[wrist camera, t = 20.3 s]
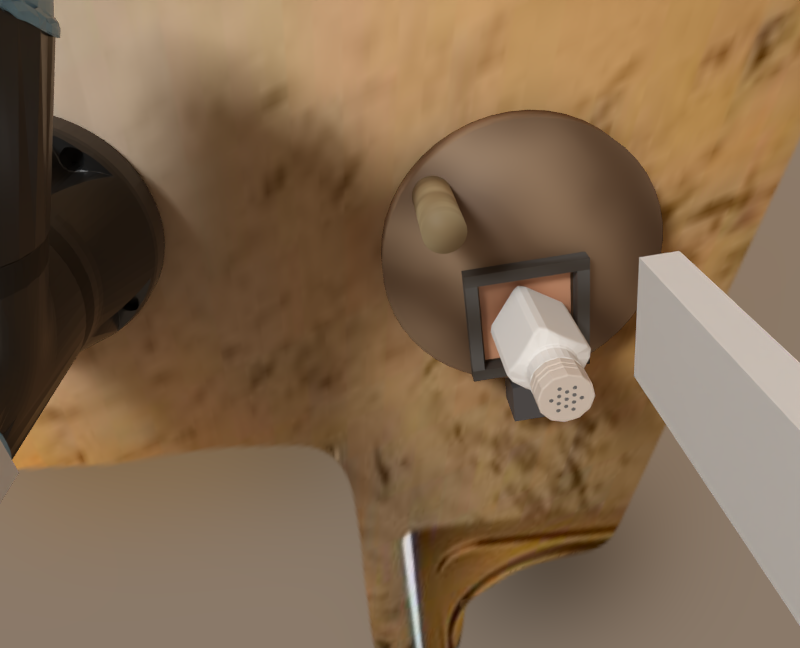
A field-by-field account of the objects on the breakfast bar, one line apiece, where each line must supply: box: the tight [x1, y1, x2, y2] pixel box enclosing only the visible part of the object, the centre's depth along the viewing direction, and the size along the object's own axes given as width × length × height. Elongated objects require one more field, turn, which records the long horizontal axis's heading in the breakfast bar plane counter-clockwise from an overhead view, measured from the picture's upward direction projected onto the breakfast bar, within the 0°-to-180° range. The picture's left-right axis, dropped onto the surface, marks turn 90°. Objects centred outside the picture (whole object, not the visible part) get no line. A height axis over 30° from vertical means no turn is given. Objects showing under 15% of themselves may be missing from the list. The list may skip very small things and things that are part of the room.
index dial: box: [381, 110, 663, 381], centre depth 41 cm, size 18×18×8 cm
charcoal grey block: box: [505, 378, 546, 421], centre depth 50 cm, size 2×3×3 cm
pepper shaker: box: [491, 286, 595, 422], centre depth 41 cm, size 4×4×10 cm
